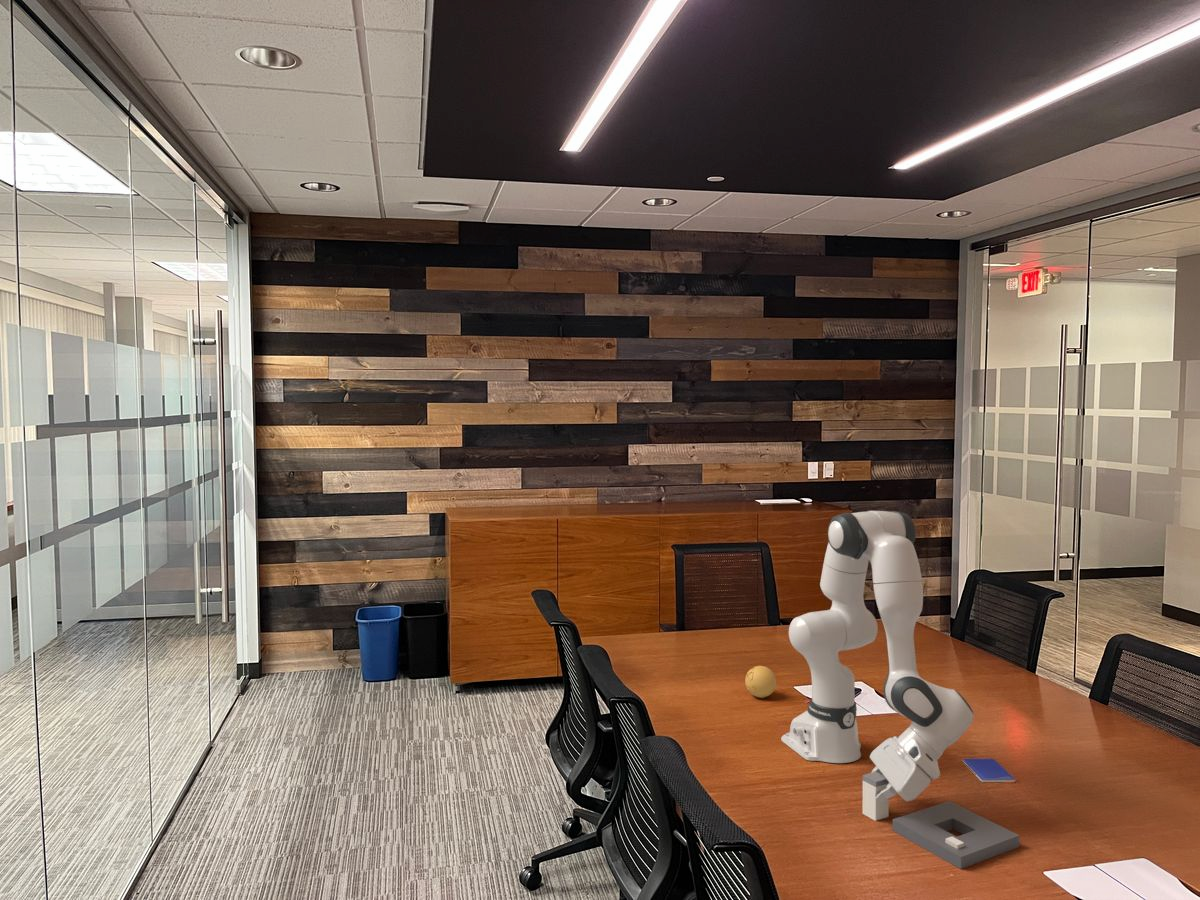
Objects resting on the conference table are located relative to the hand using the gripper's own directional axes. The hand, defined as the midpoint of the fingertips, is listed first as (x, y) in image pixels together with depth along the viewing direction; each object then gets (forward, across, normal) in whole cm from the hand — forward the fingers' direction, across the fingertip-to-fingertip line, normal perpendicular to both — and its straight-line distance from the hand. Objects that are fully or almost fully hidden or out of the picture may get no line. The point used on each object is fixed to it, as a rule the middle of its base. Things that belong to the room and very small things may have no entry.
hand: (872, 792), depth 195 cm
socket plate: (-6, +11, +14) cm, 19 cm away
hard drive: (-22, -22, +30) cm, 43 cm away
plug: (+3, 0, +4) cm, 5 cm away
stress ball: (+11, -80, -3) cm, 81 cm away
